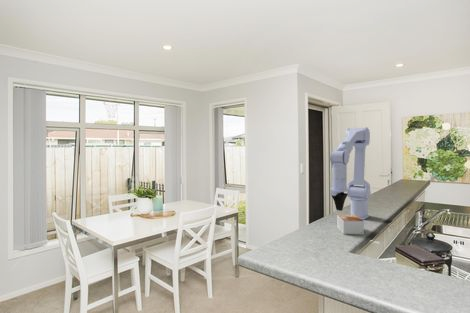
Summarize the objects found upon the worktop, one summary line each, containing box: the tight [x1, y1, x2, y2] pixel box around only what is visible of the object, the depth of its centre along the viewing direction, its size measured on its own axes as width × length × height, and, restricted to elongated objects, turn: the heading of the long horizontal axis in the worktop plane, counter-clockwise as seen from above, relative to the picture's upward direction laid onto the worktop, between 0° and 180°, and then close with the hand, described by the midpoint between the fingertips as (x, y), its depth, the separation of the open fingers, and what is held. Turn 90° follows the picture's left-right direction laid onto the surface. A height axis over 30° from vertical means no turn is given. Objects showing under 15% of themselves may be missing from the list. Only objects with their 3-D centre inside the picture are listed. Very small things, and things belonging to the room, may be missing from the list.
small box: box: [336, 214, 365, 236], centre depth 120 cm, size 8×6×10 cm
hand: (339, 210), depth 123 cm, fingers closed
